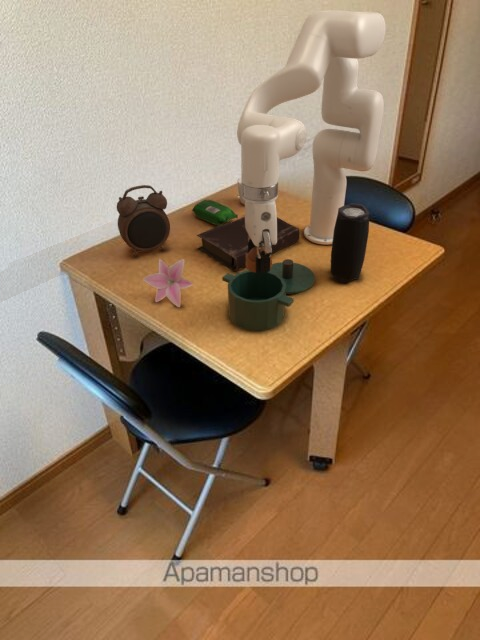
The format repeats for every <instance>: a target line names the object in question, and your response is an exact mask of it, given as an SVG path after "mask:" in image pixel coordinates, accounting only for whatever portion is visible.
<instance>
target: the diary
mask: <svg viewBox="0 0 480 640" xmlns="http://www.w3.org/2000/svg"><path fill="white" fill-rule="evenodd" d="M196 237H199V238H200V239H201V246H199V247H197V249H198V250H200V252H203V253H205V255H208V257H211V258H212V259H214V260H215V261H217V262H219V263H220V264H222V265H224V266H225V267H227V268H229V269H231V270H232V271H234V272H238V271H240V270H242V269H243V268H246V255H247V254H248V242H250V241H248V232H247V230H246V227H245V216H242V217H240V218H237V219H235V220H232V221H229V222H226V223H224V224H223V225H221V226H215V227H212V228H209V229H207V230H205V231H203V232H200V233H198V234H197V235H196ZM300 237H301V230H300V228H299V227H297V226H294V225H293V224H291V223H289V222H287V221H285V220H283V219H281V218H279V217H278V216H277V243H276V245H274V244H273V245H272V243H271V241H270V243H271V248H272V253H271V255H273V254H275V253H276V252H277V253H278V251H280V250H282V249H284V248H288V247H289V246H291V245H294V244H296V243H299V241H300ZM262 243H263V241H262Z"/></svg>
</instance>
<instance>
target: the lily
mask: <svg viewBox="0 0 480 640" xmlns="http://www.w3.org/2000/svg"><path fill="white" fill-rule="evenodd" d="M185 263H186V262H185V258H181V259H179V260H177V261H176V262H174V263H173V264H171V265H170V266H169V265H168V264H167V263H166V262H165V261H164V260H163V259H161V258H159V259H158V272H154V273H151V274H148V275H145V276H143V278H142V280H143V282H144V283H146V284H147V285H149V286H150V287H153V288H155V289H157V290H156V293H155V298H154V300H155V303H158V302H160V301H161V300H163V299H165V298H166V297H167V299H168V300H169V301H170V302H171V303H172V304H173V305H174V306H176V307H177V308H180V307H181V305H182V304H181V303H182V295H181V290H183V289H187V288H190V287H192V286H194V283H193V282H192V281H190V280H189V279H187V278H186V277H184V276H183V273H184V267H185Z"/></svg>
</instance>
